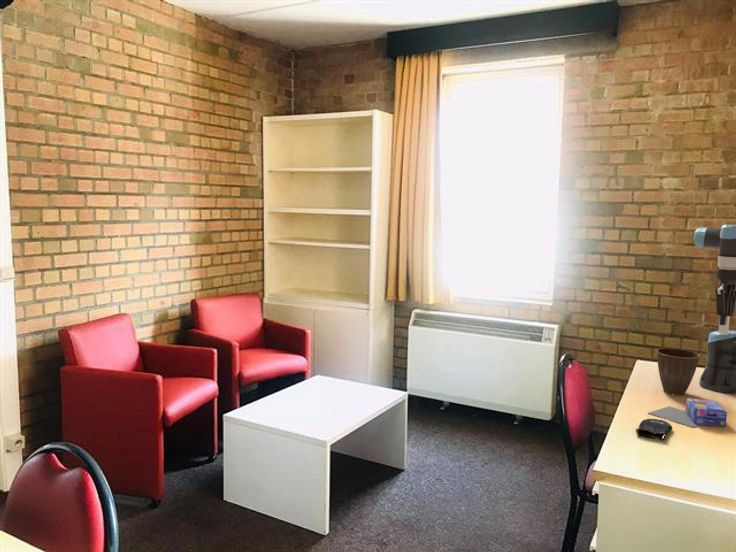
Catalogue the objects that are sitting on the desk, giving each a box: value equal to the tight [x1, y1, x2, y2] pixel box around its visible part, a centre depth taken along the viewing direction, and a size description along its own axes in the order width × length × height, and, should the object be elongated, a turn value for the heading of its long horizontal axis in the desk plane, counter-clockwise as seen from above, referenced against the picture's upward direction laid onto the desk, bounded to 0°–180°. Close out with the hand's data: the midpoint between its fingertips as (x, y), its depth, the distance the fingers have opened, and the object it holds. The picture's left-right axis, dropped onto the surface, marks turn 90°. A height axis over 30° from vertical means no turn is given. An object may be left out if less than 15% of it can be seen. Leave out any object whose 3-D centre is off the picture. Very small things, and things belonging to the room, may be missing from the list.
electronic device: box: [635, 418, 673, 441], centre depth 205 cm, size 9×6×15 cm
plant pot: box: [656, 347, 700, 396], centre depth 248 cm, size 15×15×16 cm
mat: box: [647, 405, 702, 429], centre depth 221 cm, size 14×16×1 cm
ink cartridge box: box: [684, 398, 728, 428], centre depth 216 cm, size 10×6×14 cm
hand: (723, 333), depth 229 cm, fingers closed
